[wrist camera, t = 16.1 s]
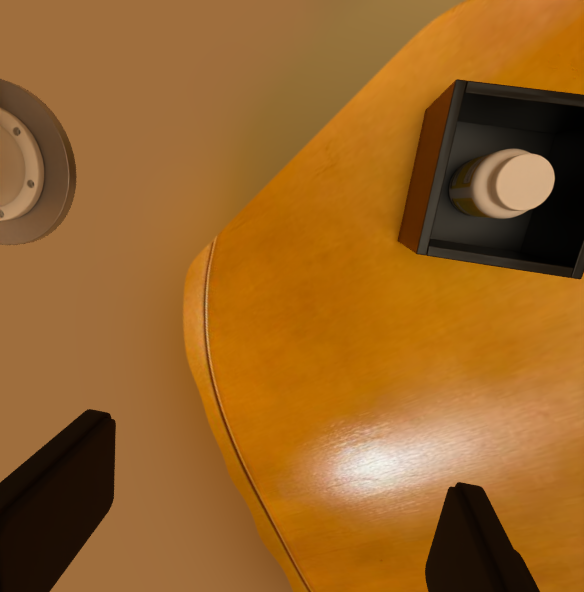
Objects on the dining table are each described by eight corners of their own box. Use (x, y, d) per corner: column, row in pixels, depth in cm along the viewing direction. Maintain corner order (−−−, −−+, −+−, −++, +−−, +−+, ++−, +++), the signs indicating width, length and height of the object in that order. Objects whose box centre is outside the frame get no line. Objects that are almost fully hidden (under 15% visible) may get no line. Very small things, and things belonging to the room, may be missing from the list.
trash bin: (397, 241, 40) (416, 253, 30) (425, 110, 37) (456, 79, 27) (522, 260, 39) (581, 279, 30) (562, 127, 36) (643, 101, 26)
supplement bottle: (508, 210, 37) (566, 214, 28) (450, 220, 38) (487, 227, 29) (505, 152, 36) (565, 135, 27) (445, 163, 37) (482, 151, 27)
